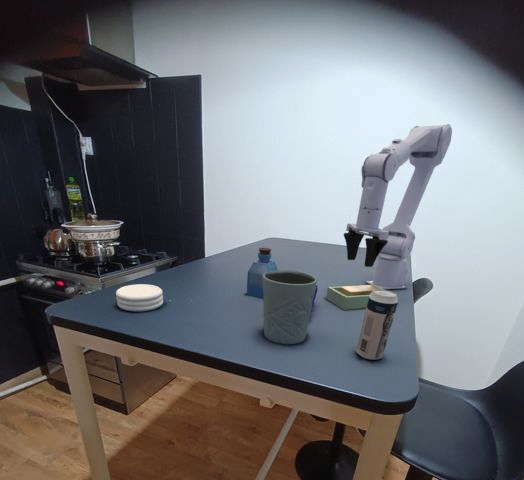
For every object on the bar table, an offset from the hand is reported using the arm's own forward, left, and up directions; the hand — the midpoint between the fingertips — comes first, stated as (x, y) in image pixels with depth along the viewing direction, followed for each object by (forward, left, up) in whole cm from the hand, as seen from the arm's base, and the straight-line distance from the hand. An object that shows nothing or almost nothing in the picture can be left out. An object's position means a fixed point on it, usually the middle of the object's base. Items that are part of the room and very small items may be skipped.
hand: (359, 263), depth 86 cm
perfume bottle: (+26, -6, -10) cm, 28 cm away
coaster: (+57, -4, -10) cm, 58 cm away
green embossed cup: (+31, +19, -10) cm, 38 cm away
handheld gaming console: (+23, +6, -10) cm, 25 cm away
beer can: (+19, +31, -10) cm, 38 cm away
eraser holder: (+2, +5, -9) cm, 11 cm away
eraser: (+2, +5, -9) cm, 10 cm away
